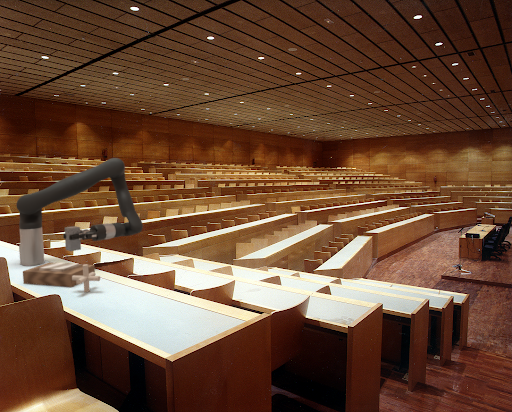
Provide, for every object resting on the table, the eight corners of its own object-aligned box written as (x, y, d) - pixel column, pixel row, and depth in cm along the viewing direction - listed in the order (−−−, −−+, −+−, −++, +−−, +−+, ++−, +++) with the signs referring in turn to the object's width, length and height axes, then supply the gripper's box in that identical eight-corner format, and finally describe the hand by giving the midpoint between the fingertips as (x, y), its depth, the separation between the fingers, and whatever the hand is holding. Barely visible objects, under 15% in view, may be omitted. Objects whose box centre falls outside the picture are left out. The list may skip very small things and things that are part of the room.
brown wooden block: (23, 283, 149) (22, 268, 148) (50, 273, 162) (49, 260, 162) (71, 287, 144) (70, 271, 143) (94, 276, 157) (94, 262, 157)
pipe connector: (106, 287, 143) (105, 261, 142) (92, 296, 133) (91, 268, 132) (81, 286, 144) (80, 261, 143) (66, 295, 134) (64, 268, 133)
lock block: (65, 249, 166) (64, 227, 165) (75, 248, 170) (74, 226, 168) (70, 251, 163) (69, 228, 162) (80, 249, 167) (80, 227, 166)
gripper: (94, 222, 181) (58, 226, 167) (111, 225, 172) (74, 230, 159) (94, 237, 182) (58, 243, 168) (111, 241, 173) (75, 247, 160)
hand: (66, 237), depth 164 cm, fingers closed on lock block, 4 cm apart
